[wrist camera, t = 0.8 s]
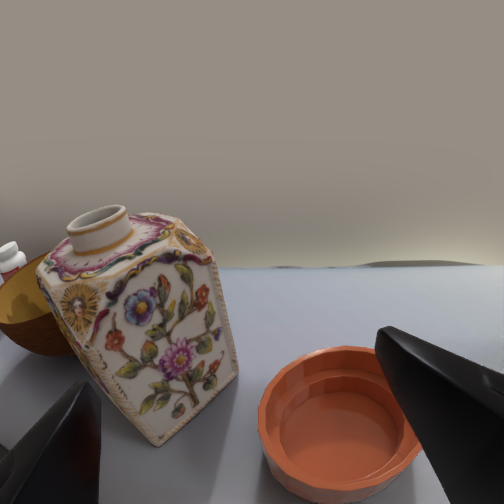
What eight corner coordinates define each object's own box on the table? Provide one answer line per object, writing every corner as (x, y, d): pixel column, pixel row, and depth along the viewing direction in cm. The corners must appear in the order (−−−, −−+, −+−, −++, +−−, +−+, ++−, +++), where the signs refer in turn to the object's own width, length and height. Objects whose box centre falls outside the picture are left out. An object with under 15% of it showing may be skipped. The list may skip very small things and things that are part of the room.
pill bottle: (39, 302, 42) (14, 247, 36) (14, 312, 39) (-12, 259, 34) (43, 286, 47) (22, 235, 41) (20, 295, 44) (-3, 246, 39)
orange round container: (433, 457, 15) (461, 426, 13) (295, 529, 13) (296, 521, 10) (364, 367, 26) (373, 327, 23) (246, 411, 23) (237, 376, 21)
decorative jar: (158, 453, 20) (39, 277, 11) (95, 385, 26) (14, 236, 18) (245, 371, 28) (210, 190, 19) (171, 328, 34) (127, 183, 26)
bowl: (162, 320, 36) (138, 251, 31) (66, 414, 22) (12, 347, 18) (90, 290, 44) (68, 236, 39) (13, 352, 30) (-20, 296, 26)
